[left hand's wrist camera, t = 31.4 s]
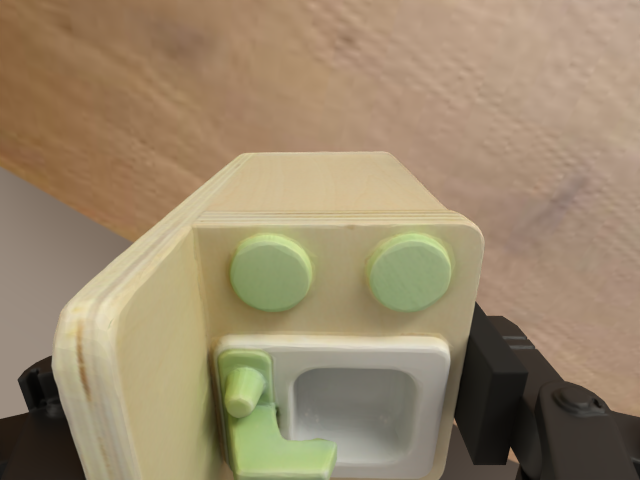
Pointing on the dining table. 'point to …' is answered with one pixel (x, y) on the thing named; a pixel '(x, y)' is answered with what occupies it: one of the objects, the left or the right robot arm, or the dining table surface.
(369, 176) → the wooden play sink
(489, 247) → the dining table surface
